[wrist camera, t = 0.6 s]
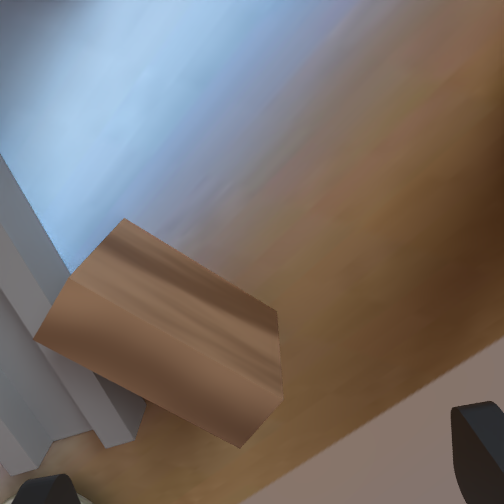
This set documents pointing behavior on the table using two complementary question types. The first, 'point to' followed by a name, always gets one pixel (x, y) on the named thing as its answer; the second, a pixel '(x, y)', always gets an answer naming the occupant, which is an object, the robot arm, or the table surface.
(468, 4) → the table surface
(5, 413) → the picture ledge
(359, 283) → the table surface
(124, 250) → the wooden framed block
